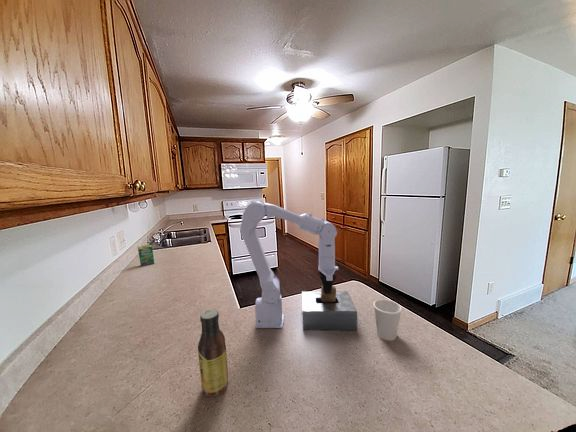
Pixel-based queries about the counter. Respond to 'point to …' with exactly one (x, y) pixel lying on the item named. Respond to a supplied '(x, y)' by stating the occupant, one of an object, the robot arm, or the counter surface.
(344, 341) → the counter surface
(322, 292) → the brown block
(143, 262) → the coffee box
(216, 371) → the sauce bottle
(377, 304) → the dixie cup
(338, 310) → the money box
